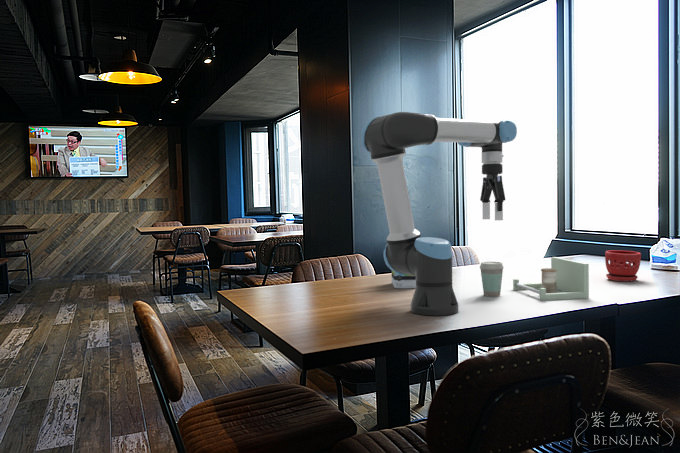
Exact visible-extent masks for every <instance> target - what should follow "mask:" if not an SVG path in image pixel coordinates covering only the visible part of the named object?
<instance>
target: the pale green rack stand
mask: <svg viewBox="0 0 680 453" xmlns="http://www.w3.org/2000/svg"><path fill="white" fill-rule="evenodd" d="M550 261H551V263H550V264H551V268H553V269H557V271H556V290H558V291H561V292H557V293H546V288H542V282H535V283H533V282H532V283H520V279H519V278H513V279H512V285H513V286H512V289H513V290H514V291H519V290H520V291H521V290H523V291H524V290H525V291H529V292H532V293H535V294H538V295H539V300H540V301H553V300H575V299H578V300H579V299H590V291H589V290H590V287H589V286H590V283H589V282H590V280H589V278H590V276H589V275H590V274H589V272H590V271H589V270H590V267H589V265H590V264H589V263H588V262H587V263H586V262H582V261H577V260H572V259H568V258H563V257H557V256H552V257H550Z"/></svg>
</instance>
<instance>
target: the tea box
mask: <svg viewBox="0 0 680 453" xmlns="http://www.w3.org/2000/svg"><path fill="white" fill-rule="evenodd" d="M391 284H392V286H393V287H394V289H416V276H414V275H408V274H400V273H398V272H395V271H392V270H391Z"/></svg>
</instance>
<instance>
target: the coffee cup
mask: <svg viewBox="0 0 680 453" xmlns="http://www.w3.org/2000/svg"><path fill="white" fill-rule="evenodd" d="M479 269H480V276H481V282H482V284H481V285H482V290H483V291H482V292H483V296H485V297H491V298H492V297H493V298H494V297H500V296H501V290H502V280H503V272H504V271H503V270H504V265H503V262H500V261H482V262H480V265H479Z"/></svg>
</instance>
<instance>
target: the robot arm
mask: <svg viewBox="0 0 680 453" xmlns="http://www.w3.org/2000/svg"><path fill="white" fill-rule="evenodd" d="M517 129H518V128H517V125H516V123H515V122H514V121H512V120H510V119H503V120H498V121H497V120H479V119H463V118H462V119H461V118H460V119H459V118H446V117H445V118H444V117H436V116H435V115H434V114H431V113H430V114H429V113H417V112H410V111H409V112H408V111H399V112H393V113H391V114H390V113H389V114H386V115H381V116H376V117H374V118H372V119H370V120H368V121H367V122H366V123H365V125H364V126H363V128H362V130H361V135H360V139H361V144H362V145H361V146H362V147H363V148H364V149H365V150H366V151H367V152H368V153H370V160H371V161H373V163H375V164H376V167H377V171H378V177H379V181H380V188H381V192H382V198H383V202H384V208H385V209H384V210H385V214H386V219H387V224H388V231H389V234H388V235H387V237H386V242H387V243H386V244H385V246H384V247H385V248H384V249H383V261H384V262H385V265H386V267H387V268H388V269H390V270H391V272H392V271H395V272H398V273H400V274H408V275H414V276H416V288H414V293H413V295H412V299H411V302H410V311H411V312H412V313H413V314H417V315H423V316H435V317H437V316H450V315H455V314H457V313H458V312H459V303H458V300H457V297H456V293H455V292H454V289H453V251H452V250H453V249H452V243H451V242H450V240H449V241H448V240H447V239H445V238H440V237H433V236H432V237H431V236H429V237H428V236H427V237H426V236H425V237H422V236H421V232H420V231H419V230H418V229H416V227H415V222H414V216H413V211H412V205H411V200H410V195H409V190H408V183H407V178H406V173H405V167H404V161H403V160H404V158H405V155H406V153H407V152H406V149H408V148H411V147H417V146H418V147H419V146H424V145H425V146H430V145H432V144H433V143H457V144H458V145H459V146H460V147H465V148H481V163H482V165H481V174H482V175H486V176H485V177H483V178H482V186H481V193H480V198H479V200H480V202H481V203H482V220H490V219H491V212H490V211H491V195H492V193H493V197H494V200H493V202H494V221H503V220H504V219H503V217H504V215H503V214H504V211H503V210H504V204H503V203H504V201H506V195H505V190H504V184H503V177H502V175H501V174H503V157H504V154H503V144H506V143H510V142H513V141H514V139H516V137H517V133H518V131H517Z"/></svg>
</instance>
